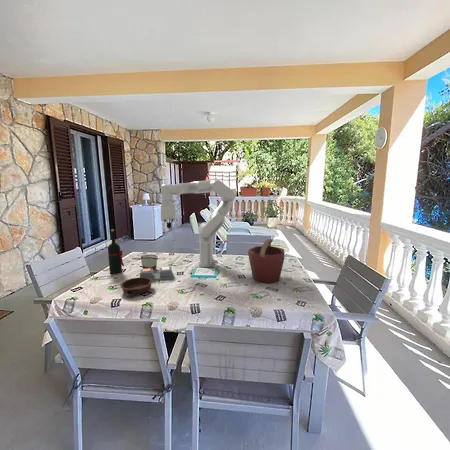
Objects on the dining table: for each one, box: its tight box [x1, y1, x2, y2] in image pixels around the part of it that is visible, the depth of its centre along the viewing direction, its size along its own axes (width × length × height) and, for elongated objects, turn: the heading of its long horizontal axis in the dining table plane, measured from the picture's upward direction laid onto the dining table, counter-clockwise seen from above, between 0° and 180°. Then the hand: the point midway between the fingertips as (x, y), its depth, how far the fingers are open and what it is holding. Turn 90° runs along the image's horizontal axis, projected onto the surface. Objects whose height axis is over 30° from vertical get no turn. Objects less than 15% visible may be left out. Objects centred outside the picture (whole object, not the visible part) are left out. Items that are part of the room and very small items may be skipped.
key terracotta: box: [141, 268, 151, 273], centre depth 165 cm, size 5×5×3 cm
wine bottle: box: [107, 229, 125, 275], centre depth 175 cm, size 8×10×30 cm
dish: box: [119, 276, 154, 298], centre depth 147 cm, size 18×22×5 cm
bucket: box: [247, 238, 285, 285], centre depth 162 cm, size 24×22×25 cm
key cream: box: [160, 266, 170, 271], centre depth 169 cm, size 5×5×3 cm
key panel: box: [138, 266, 174, 281], centre depth 167 cm, size 21×10×5 cm, turn 105°
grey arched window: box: [140, 253, 159, 272], centre depth 183 cm, size 12×6×10 cm, turn 84°
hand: (169, 228), depth 182 cm, fingers closed
